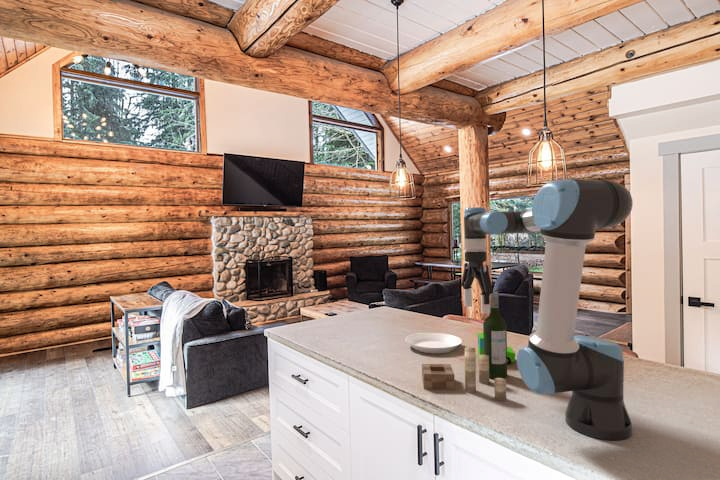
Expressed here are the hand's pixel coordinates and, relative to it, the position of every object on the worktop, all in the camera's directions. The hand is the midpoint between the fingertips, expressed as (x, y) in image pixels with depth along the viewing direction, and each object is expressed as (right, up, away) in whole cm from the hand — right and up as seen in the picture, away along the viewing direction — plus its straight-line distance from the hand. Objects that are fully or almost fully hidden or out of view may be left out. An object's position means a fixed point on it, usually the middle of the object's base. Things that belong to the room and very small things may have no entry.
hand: (476, 310), depth 143 cm
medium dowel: (+1, -24, -5) cm, 24 cm away
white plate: (-9, -24, +37) cm, 44 cm away
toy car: (+13, -24, +16) cm, 31 cm away
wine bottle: (+7, -24, 0) cm, 25 cm away
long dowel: (-6, -24, -13) cm, 28 cm away
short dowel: (+2, -24, -19) cm, 31 cm away
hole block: (-15, -24, -6) cm, 29 cm away
